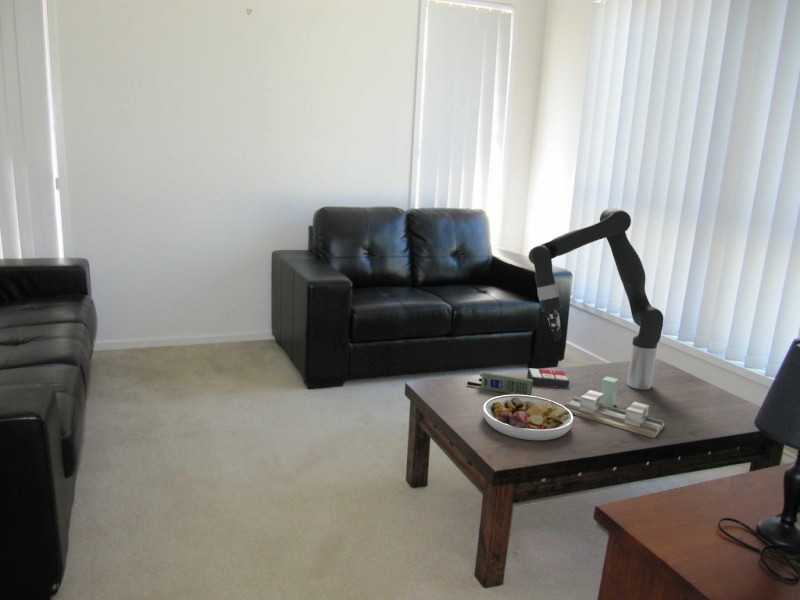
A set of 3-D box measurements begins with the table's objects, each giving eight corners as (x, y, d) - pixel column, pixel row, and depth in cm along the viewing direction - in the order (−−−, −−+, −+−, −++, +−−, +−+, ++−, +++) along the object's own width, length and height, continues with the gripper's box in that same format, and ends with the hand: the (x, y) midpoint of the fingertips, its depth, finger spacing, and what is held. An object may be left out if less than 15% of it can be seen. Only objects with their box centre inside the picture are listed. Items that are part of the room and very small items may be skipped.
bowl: (497, 401, 235) (499, 381, 233) (579, 418, 222) (581, 398, 220) (469, 431, 208) (471, 408, 206) (561, 453, 196) (563, 429, 194)
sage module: (603, 401, 239) (606, 376, 236) (615, 404, 236) (618, 379, 234) (599, 404, 235) (602, 379, 233) (611, 407, 232) (614, 382, 230)
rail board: (575, 401, 237) (577, 385, 235) (664, 426, 218) (666, 408, 217) (562, 411, 227) (564, 393, 226) (654, 437, 209) (657, 419, 207)
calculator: (570, 379, 250) (532, 375, 251) (568, 390, 251) (530, 385, 252) (564, 370, 261) (528, 366, 261) (562, 380, 262) (526, 376, 262)
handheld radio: (530, 398, 239) (466, 387, 247) (531, 395, 242) (468, 385, 250) (532, 381, 238) (467, 371, 246) (533, 378, 241) (469, 368, 249)
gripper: (557, 296, 231) (567, 339, 231) (560, 294, 245) (569, 335, 244) (537, 300, 233) (547, 343, 233) (540, 298, 247) (550, 338, 247)
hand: (558, 339), depth 239 cm, fingers open, 8 cm apart
